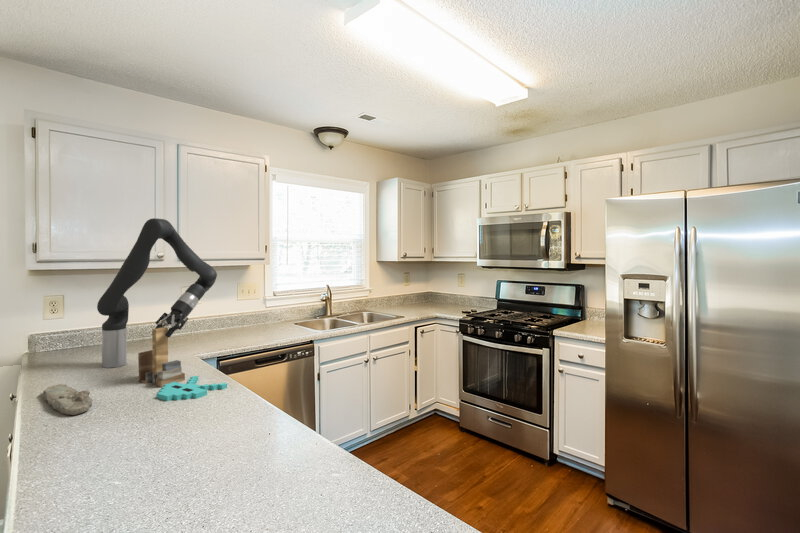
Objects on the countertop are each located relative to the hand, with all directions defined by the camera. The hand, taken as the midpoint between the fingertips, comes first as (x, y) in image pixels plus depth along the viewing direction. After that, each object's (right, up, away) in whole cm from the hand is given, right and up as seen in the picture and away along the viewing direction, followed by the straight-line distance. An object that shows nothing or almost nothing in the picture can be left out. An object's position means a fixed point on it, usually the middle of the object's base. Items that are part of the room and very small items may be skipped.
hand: (160, 335), depth 165 cm
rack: (-2, -19, +2) cm, 19 cm away
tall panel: (0, -19, +1) cm, 19 cm away
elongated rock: (-19, -20, -24) cm, 37 cm away
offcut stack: (+6, -19, -2) cm, 20 cm away
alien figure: (+17, -21, -11) cm, 29 cm away
